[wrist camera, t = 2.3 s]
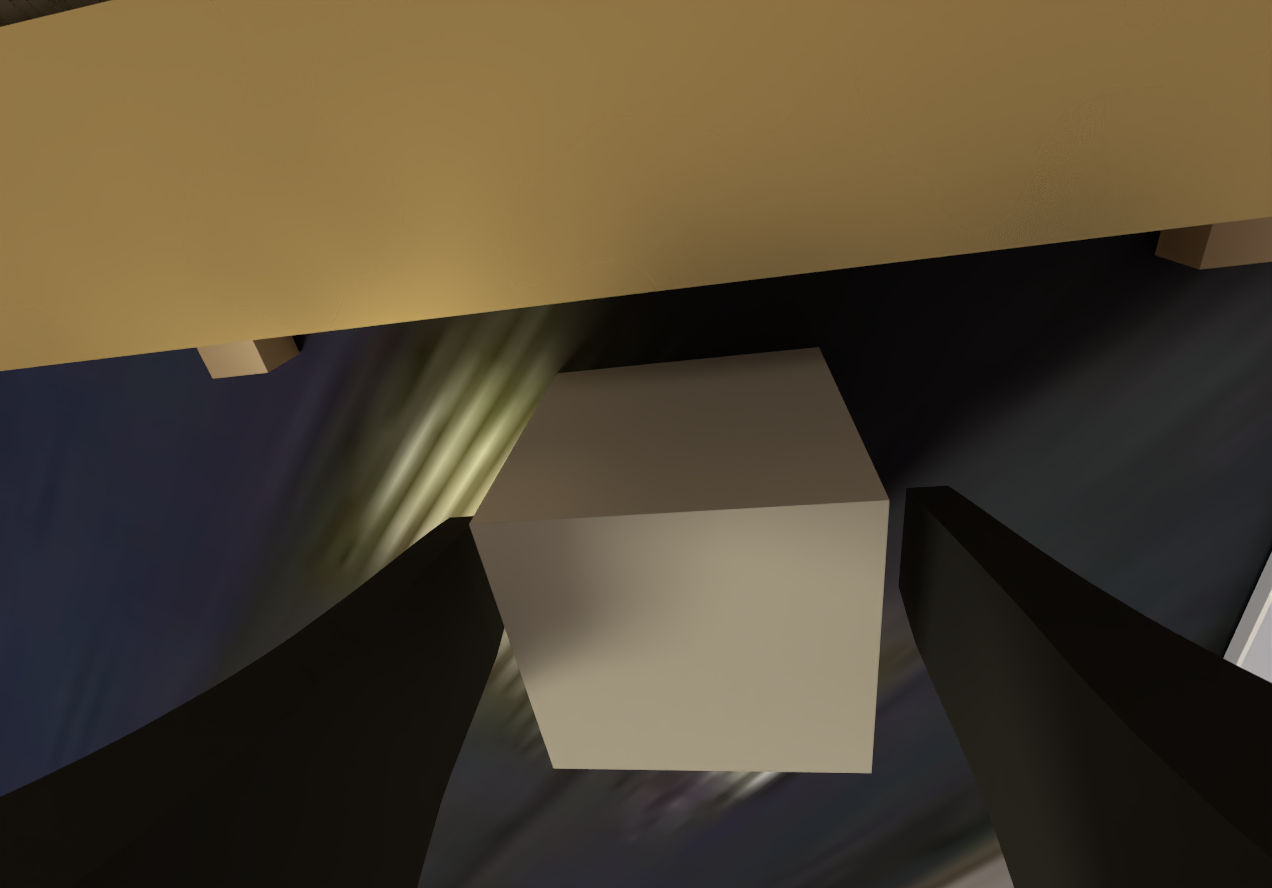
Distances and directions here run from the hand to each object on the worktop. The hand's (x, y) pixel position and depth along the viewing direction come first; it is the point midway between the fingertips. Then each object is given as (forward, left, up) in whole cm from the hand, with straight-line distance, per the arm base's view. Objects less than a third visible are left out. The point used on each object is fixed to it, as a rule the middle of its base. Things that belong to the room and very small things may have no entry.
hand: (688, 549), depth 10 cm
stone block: (0, 0, -3) cm, 3 cm away
